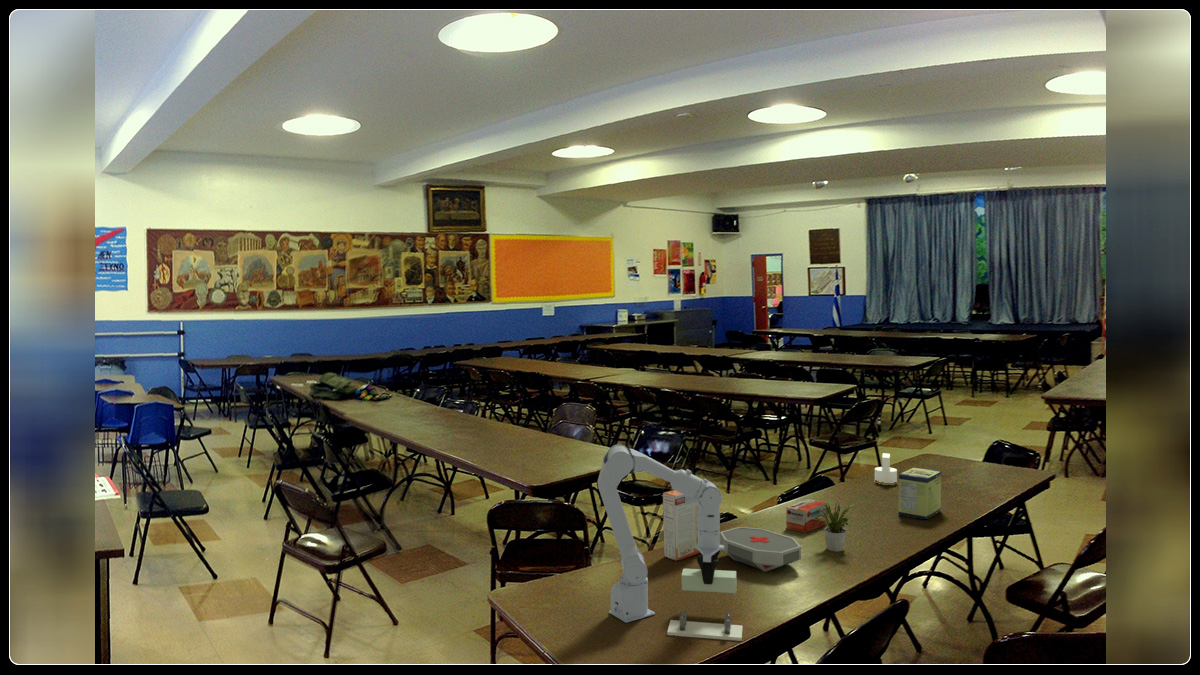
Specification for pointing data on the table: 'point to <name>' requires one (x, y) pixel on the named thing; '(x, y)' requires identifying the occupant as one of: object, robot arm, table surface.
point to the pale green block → (721, 583)
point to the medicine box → (805, 515)
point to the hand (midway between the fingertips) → (708, 579)
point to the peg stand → (705, 629)
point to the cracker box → (680, 525)
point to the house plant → (835, 528)
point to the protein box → (919, 493)
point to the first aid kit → (760, 547)
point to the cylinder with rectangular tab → (886, 471)
